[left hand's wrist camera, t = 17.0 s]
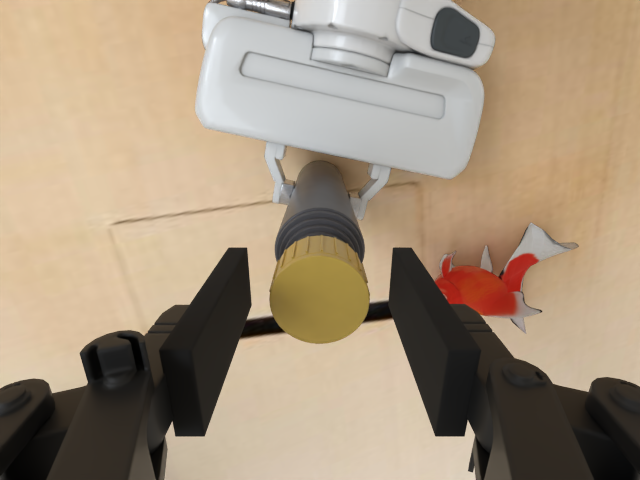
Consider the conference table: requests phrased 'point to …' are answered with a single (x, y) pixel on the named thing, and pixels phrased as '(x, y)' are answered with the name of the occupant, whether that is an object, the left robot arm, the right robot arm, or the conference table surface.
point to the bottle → (319, 210)
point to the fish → (499, 278)
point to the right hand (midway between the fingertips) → (318, 210)
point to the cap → (319, 290)
